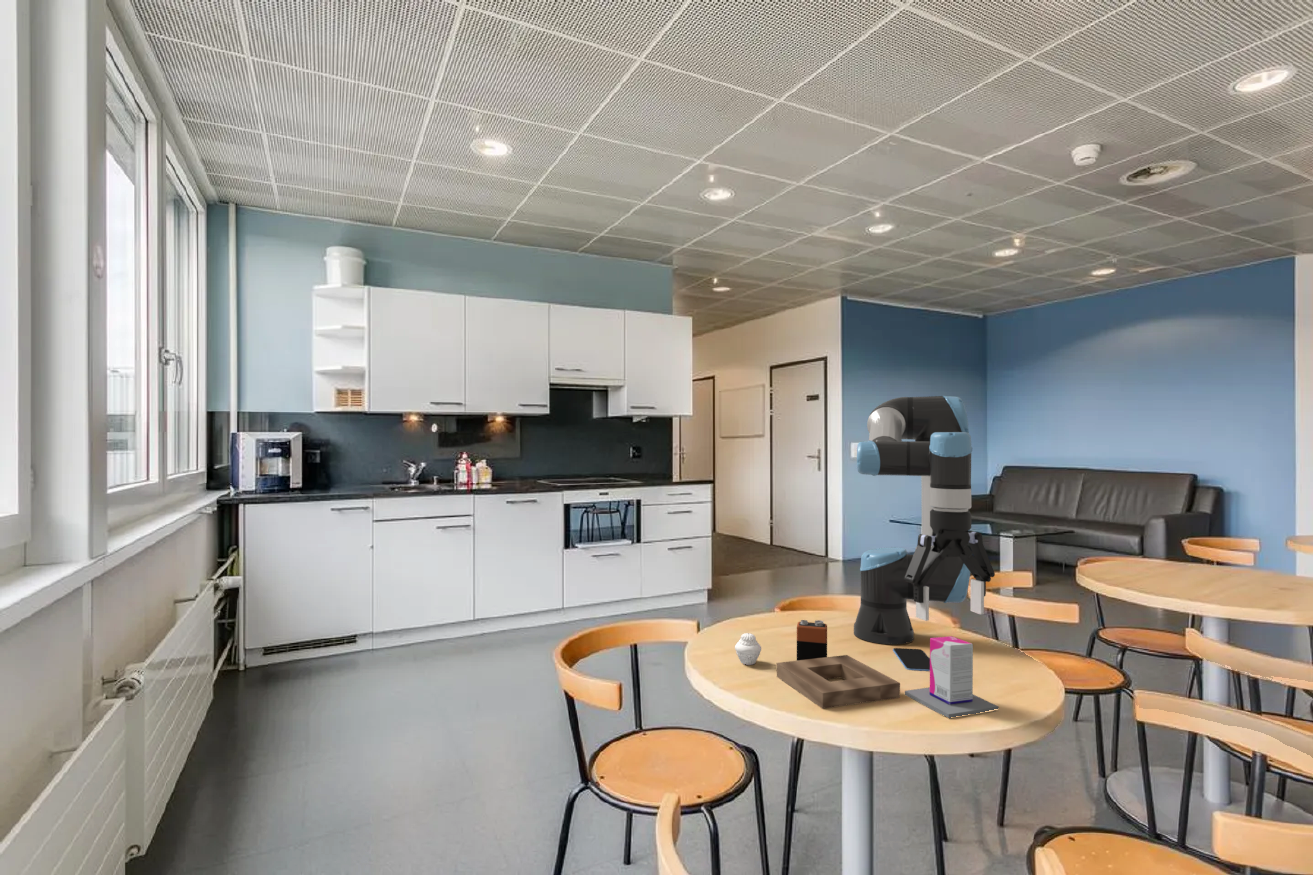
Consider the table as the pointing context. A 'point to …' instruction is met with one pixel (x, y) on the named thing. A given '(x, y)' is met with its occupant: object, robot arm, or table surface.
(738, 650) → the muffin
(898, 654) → the smartphone
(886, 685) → the holder
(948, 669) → the supplement box
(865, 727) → the table surface
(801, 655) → the battery
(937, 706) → the mat
